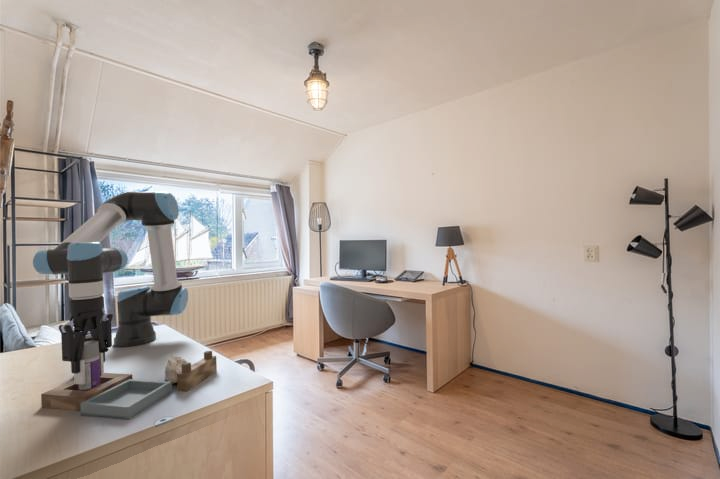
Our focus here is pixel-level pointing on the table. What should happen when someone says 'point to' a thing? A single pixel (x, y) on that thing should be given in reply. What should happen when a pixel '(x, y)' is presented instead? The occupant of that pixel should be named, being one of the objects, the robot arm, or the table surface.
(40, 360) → the table surface
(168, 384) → the tray
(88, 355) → the container
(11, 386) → the table surface
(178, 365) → the stone
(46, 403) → the block
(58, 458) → the table surface
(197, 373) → the bar
